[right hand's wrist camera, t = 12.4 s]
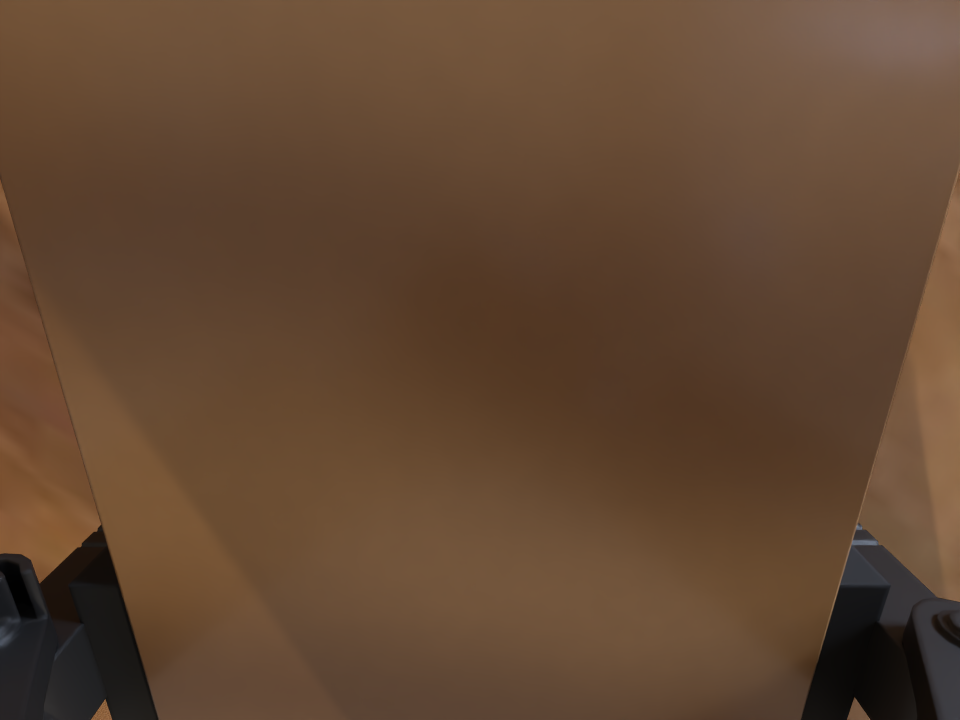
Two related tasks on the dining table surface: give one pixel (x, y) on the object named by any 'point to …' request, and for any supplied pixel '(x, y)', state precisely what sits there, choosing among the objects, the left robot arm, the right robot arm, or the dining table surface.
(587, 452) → the wide beam
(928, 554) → the dining table surface
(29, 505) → the dining table surface
